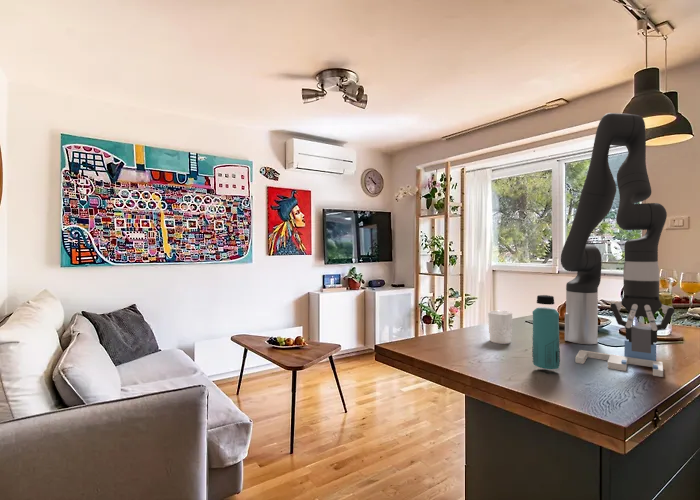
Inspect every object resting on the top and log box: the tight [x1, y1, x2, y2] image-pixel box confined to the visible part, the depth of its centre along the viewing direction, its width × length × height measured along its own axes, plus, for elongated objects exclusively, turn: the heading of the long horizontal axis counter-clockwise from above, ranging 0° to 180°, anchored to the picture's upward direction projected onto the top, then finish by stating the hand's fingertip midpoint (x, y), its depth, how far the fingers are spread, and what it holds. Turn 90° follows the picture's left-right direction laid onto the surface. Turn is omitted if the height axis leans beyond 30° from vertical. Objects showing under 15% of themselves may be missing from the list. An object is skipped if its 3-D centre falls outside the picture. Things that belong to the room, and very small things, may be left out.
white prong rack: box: [574, 339, 664, 378], centre depth 103 cm, size 19×10×6 cm, turn 51°
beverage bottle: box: [531, 294, 561, 370], centre depth 98 cm, size 6×7×20 cm
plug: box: [631, 325, 651, 353], centre depth 99 cm, size 4×4×6 cm
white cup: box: [487, 310, 513, 345], centre depth 129 cm, size 8×8×10 cm
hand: (641, 342), depth 99 cm, fingers closed on plug, 4 cm apart
